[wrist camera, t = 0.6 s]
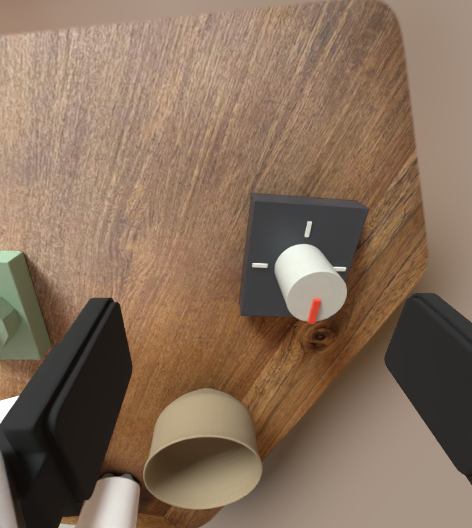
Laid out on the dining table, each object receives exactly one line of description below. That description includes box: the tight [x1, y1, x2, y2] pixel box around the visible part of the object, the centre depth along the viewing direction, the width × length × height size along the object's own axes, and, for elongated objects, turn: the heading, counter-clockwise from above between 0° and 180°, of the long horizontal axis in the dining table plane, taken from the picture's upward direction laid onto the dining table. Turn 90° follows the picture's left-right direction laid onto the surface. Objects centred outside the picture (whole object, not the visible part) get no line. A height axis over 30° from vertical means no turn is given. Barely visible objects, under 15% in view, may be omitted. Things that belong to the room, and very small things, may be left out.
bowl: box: [143, 388, 263, 509], centre depth 33 cm, size 13×13×10 cm
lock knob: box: [275, 244, 347, 324], centre depth 24 cm, size 5×5×5 cm
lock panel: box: [239, 193, 369, 318], centre depth 27 cm, size 12×10×3 cm
